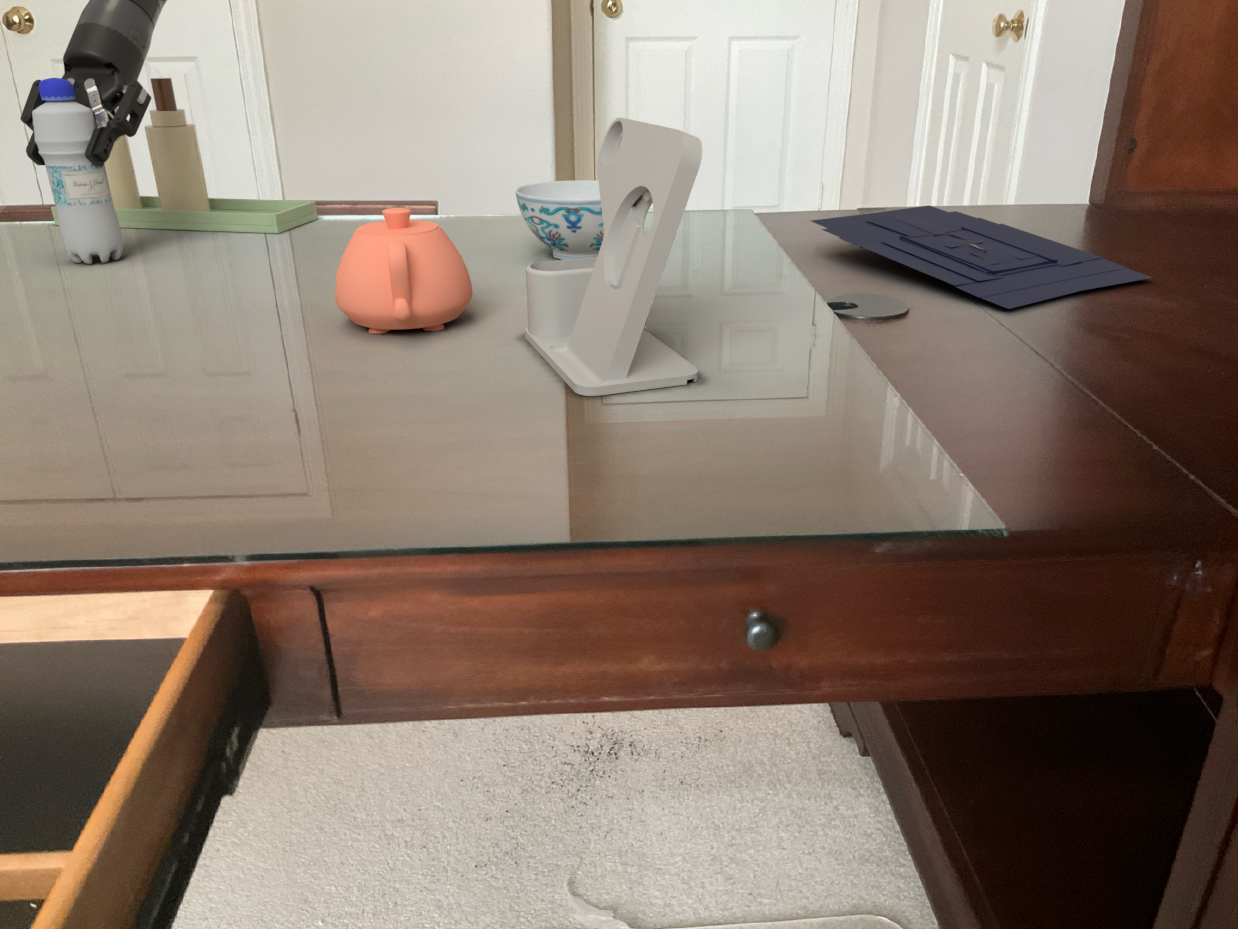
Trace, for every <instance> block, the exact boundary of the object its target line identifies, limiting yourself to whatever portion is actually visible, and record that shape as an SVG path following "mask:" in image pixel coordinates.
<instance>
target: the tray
mask: <svg viewBox="0 0 1238 929" xmlns="http://www.w3.org/2000/svg"><path fill="white" fill-rule="evenodd" d="M208 198H209V203H210V209H211V212H205V211H176V210H161V206H160V201H159V196H158V195H157V196H154V195H140V199H141V204H142V208H143V209H116V208H114V209H115V212H116V215H117V219H118V222H119V225H120V229H122V228H123V229H124V228H125V229H146V230H147V229H148V230H175V231H176V230H177V231H179V230H180V231H204V232H207V231H208V232H229V233H230V232H231V233H257V234H280V233H283V232H286V231H288V230H291V229H295V228H297V227H299V226H302V225H305V224H308V223H310V222H313V221H316V220H318V219H319V216H318V212H317V211H318V210H317V203H316V202H317V201H316V200H289V199H288V200H286V199H285V200H283V199H255V198H254V199H253V198H220V197H208ZM50 210H51V214H52V218H53V221H54V225H55V226H59V221H58V215H57V210H56V206H55V205H54V206H50Z"/></svg>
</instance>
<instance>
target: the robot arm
mask: <svg viewBox="0 0 1238 929" xmlns="http://www.w3.org/2000/svg"><path fill="white" fill-rule="evenodd" d="M167 1H168V0H89V1H88V2H87V4H86V5H85V7H83V9H82V11H81V14H80V15H79V18H78V20H77V23H76V25H75V28H74V30H73V31H72V35H71V37H70V40H69V41H68V44H67V47H66V49H65V51H64V53H63V57H62V62H63V69H64V70H63V71H64V73H63V75H62V76H61V79H65V80H68V81H69V82H70V83H71V84H72V85H73V88H74V92H75V98H76V99H75V100H73V101H75V102H77V103H79V104H81V105H83V106H86V107H88V108H90V109H91V110H92V111H93V114H94V117H95V120H96V122H97V125H98V127H99V128H94V131H93V134H92V136H91V139H90V141H89V144H88V146H87V149H86V151H85V156H86V158H87V159H88V160H89V161H90V162H91V163H92V164H93V165H94V166H97V167H102V166H103V165H104V163H105V162H106V161H107V160H108V158H109V156H110V153H111V151H112V148H113V145H114V143H115V141H118V140H119V139H120V137H121V136H123V135H127V138H132V137H134V136H135V135H137V132H138V130H139V128H140V126H141V123H142V122H143V120H144V117H145V114H146V112H147V110H148V108H149V105H150V103H151V101H152V96H151V95H150V93H148V91H147V90H146V88H144V86H143V85H142V84H141V82H139V80H138V79H139V77H140V74H141V72H142V69H143V66H144V64H145V62H146V59H147V56H148V53H149V51H150V48H151V44H152V39H153V35H154V31H155V28H156V25H157V22H158V21H159V18H160V16H161V13H162V10H163V9H164V6H165V5H166V3H167ZM40 81H42V79H36V80H34V82H32V85H31V87H30V90H29V93H28V96H27V98H26V101H25V104H24V106H23V110H22V111H21V112H22V113H21V115H20V121H21V122H22V123H23V124H24V125H26V126H27V127H28V128H29V129H30V130H31V131H32V134H31V136H30V138H29V140H28V143H27V145H26V148H25V153H26V156H27V157H28V158H29V159H30V160H31V161H32V162H33V163H35V165H37V166H45V162H44V159H43V158H42V156H41V155H40V154H39V153H38V152H39V149H38V146H37V144H36V142H35V134H34V125H33V116H32V112H33V110H35V109H36V108H38V107H39V106H41V105H42V104H44V103H45V102H47V101H45V100H42V98H41V96H40V92H39V83H40ZM128 116H129V119H128Z"/></svg>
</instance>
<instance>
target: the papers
mask: <svg viewBox="0 0 1238 929" xmlns="http://www.w3.org/2000/svg"><path fill="white" fill-rule="evenodd" d="M810 222H811V223H814V224H816V225H818V226H821V227H824V228H821V231H824V232H826V233H829V234H830V235H832V236H833V235H834V236H835V237H837V238H838V239H839V240H842V241H844V242H847V243H849V244H851V245H853V246H855V247H858V248H859V249H860V248H861V249H866V250H868V251H871V252H873V253H876V254H878V255H880V256H882V257H885V258H887V259H890V260H892V261H895V262H897V263H899V264H902V265H904V266H907V267H909V268H911V269H914V270H916V271H918V272H921V273H922V274H923V273H924V274H926V275H929V276H930V277H933V278H936V279H937V280H940V281H943V282H945V283H948V284H949V285H950V286H952V287H955V288H957V289H959V290H961V291H963V292H966V293H968V294H970V295H972V296H975V297H977V298H980V299H982V300H984V301H987V302H990V303H992V304H994V305H998V306H1000V307H1003V308H1005V309H1008V310H1011V309H1014V308H1015V309H1016V308H1019V307H1022V306H1027V305H1031V304H1034V303H1038V302H1042V301H1046V300H1050V299H1053V298H1058V297H1062V296H1066V295H1070V294H1073V293H1078V292H1081V291H1088V290H1093V289H1097V288H1098V289H1099V288H1104V287H1109V286H1115V285H1121V284H1127V283H1131V282H1136V281H1137V282H1138V281H1144V280H1149V279H1154V277H1153V276H1150V275H1147V274H1144V273H1141V272H1139V271H1136V270H1133V269H1130V268H1129V267H1127V266H1124V265H1122V264H1118V263H1116V262H1113V261H1110V260H1109V259H1106V258H1103V257H1102V256H1100V255H1097V254H1093V253H1091V252H1087V251H1085V250H1082V249H1079V248H1076V247H1072V246H1070V245H1066V244H1063V243H1061V242H1057V241H1054V240H1053V239H1049V238H1046V237H1043V236H1040V235H1038V234H1034V233H1031V232H1028V231H1026V230H1022V229H1019V228H1016V227H1013V226H1010V225H1009V224H1008V225H1007V224H1004V223H997V222H993V221H992V220H988V219H985V218H983V217H975V216H972V215H969V214H966V213H963V212H961V211H960V212H959V211H956V210H955V211H947V210H944V209H941V208H938V207H935V206H932V205H929V204H928V205H922V206H914V207H908V208H901V209H893V210H892V209H891V210H885V211H878V212H871V213H861V214H853V215H845V216H837V217H836V216H835V217H830V218H821V219H812V220H810Z"/></svg>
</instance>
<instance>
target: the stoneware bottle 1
mask: <svg viewBox="0 0 1238 929" xmlns="http://www.w3.org/2000/svg"><path fill="white" fill-rule="evenodd" d="M98 128H99V127H98ZM128 138H129V137H128V136H127V135H123V136H121V137H120V139H119V140H118V141H115V143H114V145H113V148H112V151H111V153H110V156H109V158H108V160H107V161H106V162H105V163H104V165H105V169H106V174H107V178H108V183H109V187H110V191H111V196H112V201H113V205H114V208H116V209H143V208H142V204H141V199H140V196H141V194H140V190H139V185H138V181H137V176H136V171H135V166H134V161H133V157H132V153H131V148H130V144H129V143H130V142H129V139H128Z"/></svg>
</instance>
